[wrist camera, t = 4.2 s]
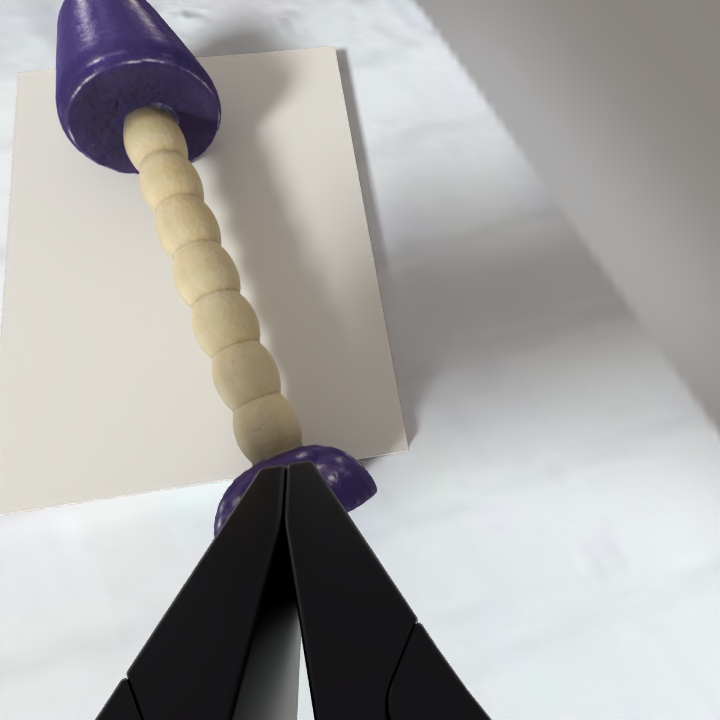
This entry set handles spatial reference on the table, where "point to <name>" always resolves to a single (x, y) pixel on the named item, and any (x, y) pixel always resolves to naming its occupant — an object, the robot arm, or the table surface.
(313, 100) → the felt mat
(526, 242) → the table surface
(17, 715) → the table surface
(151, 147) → the toy lamp
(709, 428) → the table surface
